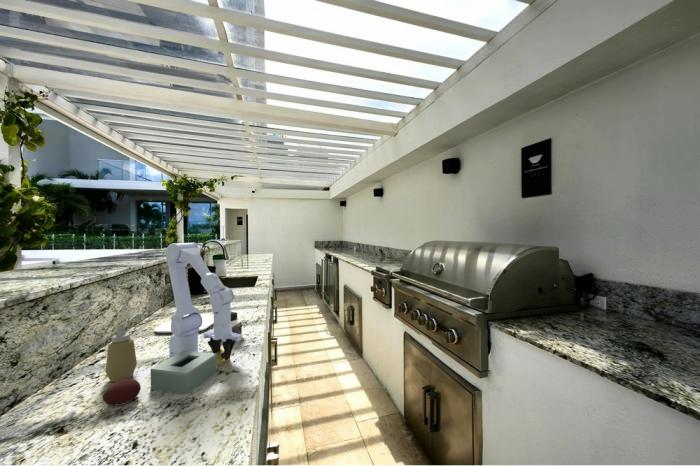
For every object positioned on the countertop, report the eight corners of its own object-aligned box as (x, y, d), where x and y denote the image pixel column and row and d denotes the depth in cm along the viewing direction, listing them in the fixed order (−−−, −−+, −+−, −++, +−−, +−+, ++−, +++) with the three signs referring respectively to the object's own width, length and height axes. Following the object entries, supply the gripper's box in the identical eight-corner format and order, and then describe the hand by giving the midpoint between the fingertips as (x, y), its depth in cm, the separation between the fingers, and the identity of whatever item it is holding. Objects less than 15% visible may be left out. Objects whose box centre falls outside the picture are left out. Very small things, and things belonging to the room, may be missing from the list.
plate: (200, 335, 127) (200, 330, 127) (148, 335, 128) (148, 330, 128) (225, 318, 152) (225, 314, 152) (181, 318, 153) (181, 314, 153)
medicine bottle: (232, 342, 119) (232, 315, 119) (217, 341, 120) (217, 314, 120) (242, 336, 126) (241, 310, 126) (228, 335, 127) (228, 309, 127)
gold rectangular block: (215, 365, 99) (214, 353, 99) (224, 359, 104) (224, 347, 104) (220, 366, 98) (220, 353, 98) (229, 359, 103) (229, 347, 103)
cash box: (150, 389, 84) (150, 368, 84) (184, 368, 97) (184, 350, 97) (186, 394, 82) (186, 373, 81) (216, 372, 94) (216, 353, 94)
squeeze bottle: (142, 373, 93) (142, 321, 93) (116, 386, 86) (115, 329, 85) (126, 369, 96) (126, 319, 96) (99, 382, 88) (98, 326, 88)
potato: (109, 397, 80) (109, 377, 80) (144, 391, 83) (143, 371, 83) (98, 413, 73) (98, 391, 73) (136, 405, 77) (136, 384, 76)
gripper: (197, 324, 98) (197, 361, 99) (232, 327, 96) (233, 365, 96) (210, 318, 105) (211, 353, 106) (244, 320, 102) (244, 356, 103)
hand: (222, 358), depth 101 cm, fingers open, 4 cm apart
